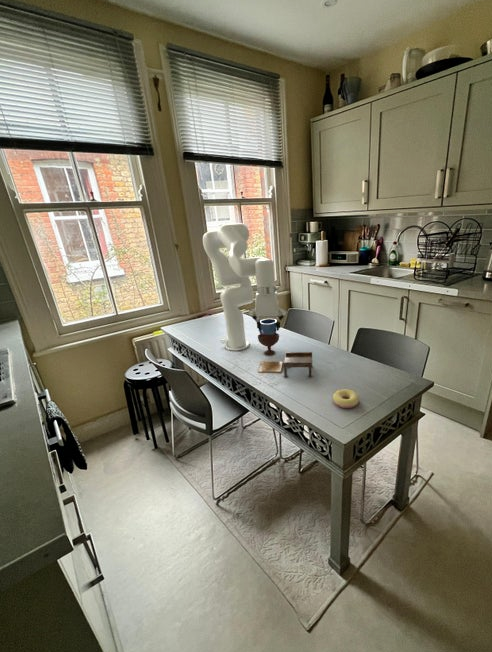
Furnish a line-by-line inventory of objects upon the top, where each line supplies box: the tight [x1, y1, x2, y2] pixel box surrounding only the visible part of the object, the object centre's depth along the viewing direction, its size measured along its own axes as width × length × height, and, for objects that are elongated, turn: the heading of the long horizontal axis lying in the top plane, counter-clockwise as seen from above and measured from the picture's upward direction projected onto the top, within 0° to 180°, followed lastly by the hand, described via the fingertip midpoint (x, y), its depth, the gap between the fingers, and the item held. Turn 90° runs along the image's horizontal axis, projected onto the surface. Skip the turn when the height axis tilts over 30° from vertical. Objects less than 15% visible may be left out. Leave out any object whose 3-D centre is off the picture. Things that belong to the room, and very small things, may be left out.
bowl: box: [260, 318, 277, 335], centre depth 138 cm, size 7×7×5 cm
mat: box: [258, 361, 284, 374], centre depth 147 cm, size 10×10×1 cm
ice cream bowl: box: [257, 329, 280, 356], centre depth 158 cm, size 11×11×15 cm
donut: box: [332, 388, 360, 409], centre depth 117 cm, size 10×5×9 cm
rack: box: [282, 351, 313, 379], centre depth 140 cm, size 12×11×7 cm
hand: (268, 329), depth 139 cm, fingers closed on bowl, 7 cm apart
